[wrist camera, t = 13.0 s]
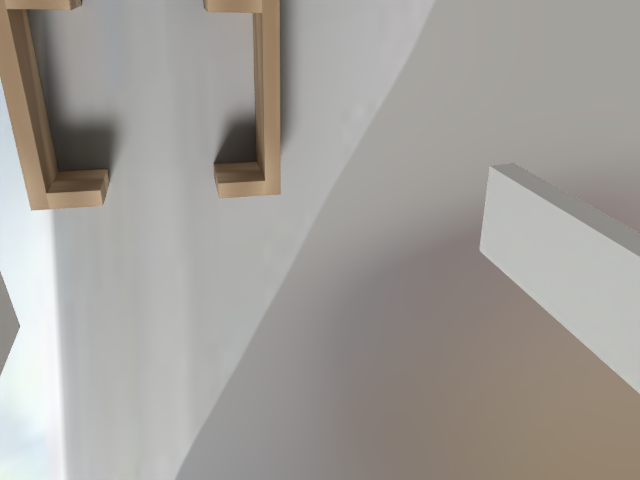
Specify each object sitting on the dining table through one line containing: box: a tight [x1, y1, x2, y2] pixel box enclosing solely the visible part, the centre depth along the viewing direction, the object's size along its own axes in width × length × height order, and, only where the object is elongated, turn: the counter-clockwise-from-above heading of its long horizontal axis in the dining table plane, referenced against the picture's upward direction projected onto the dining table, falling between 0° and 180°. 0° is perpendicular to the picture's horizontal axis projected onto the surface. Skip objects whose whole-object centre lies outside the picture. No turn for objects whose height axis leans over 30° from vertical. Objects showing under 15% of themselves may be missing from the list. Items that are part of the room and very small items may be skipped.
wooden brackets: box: [0, 0, 281, 210], centre depth 32 cm, size 15×12×4 cm
